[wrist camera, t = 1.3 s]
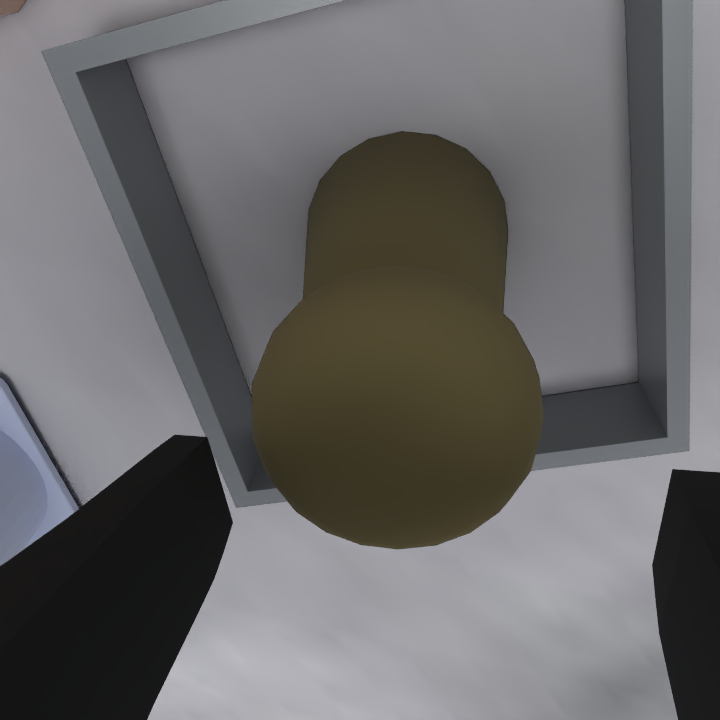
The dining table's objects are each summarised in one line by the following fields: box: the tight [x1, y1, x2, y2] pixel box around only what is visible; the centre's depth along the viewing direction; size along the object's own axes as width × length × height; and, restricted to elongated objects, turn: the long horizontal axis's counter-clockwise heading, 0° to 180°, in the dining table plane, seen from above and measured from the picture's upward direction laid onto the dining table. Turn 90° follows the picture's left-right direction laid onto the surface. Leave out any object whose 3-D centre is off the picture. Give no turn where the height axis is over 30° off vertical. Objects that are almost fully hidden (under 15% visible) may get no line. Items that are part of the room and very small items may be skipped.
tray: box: [41, 0, 693, 508], centre depth 19 cm, size 14×14×3 cm
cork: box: [252, 131, 544, 549], centre depth 15 cm, size 6×6×11 cm
